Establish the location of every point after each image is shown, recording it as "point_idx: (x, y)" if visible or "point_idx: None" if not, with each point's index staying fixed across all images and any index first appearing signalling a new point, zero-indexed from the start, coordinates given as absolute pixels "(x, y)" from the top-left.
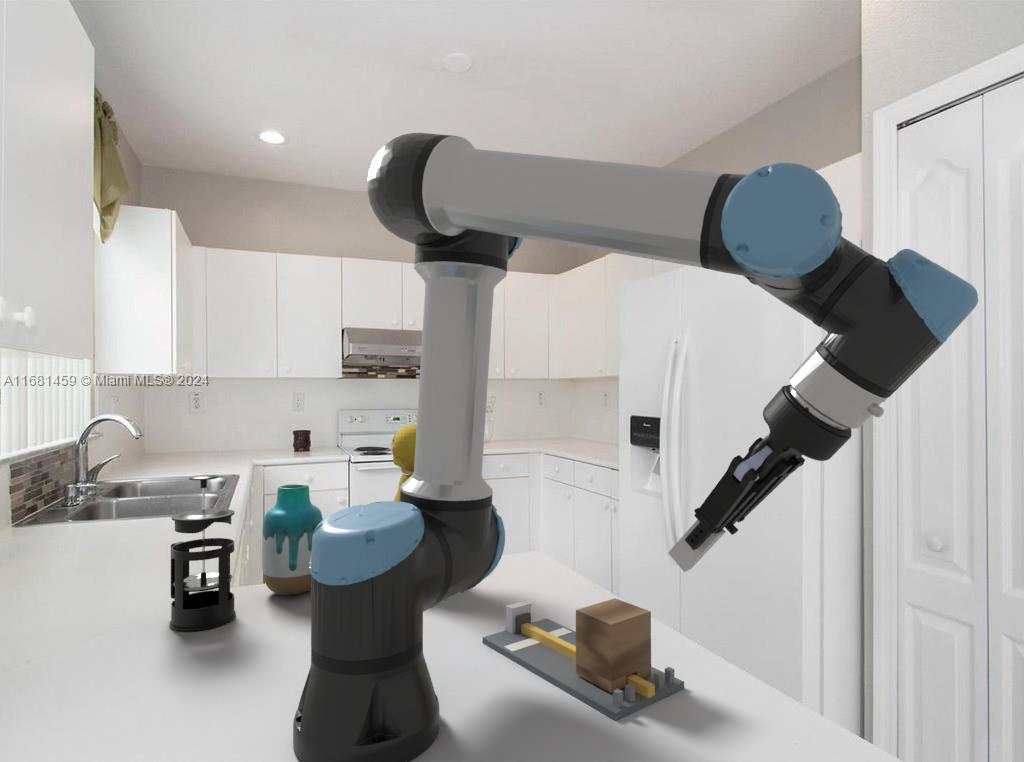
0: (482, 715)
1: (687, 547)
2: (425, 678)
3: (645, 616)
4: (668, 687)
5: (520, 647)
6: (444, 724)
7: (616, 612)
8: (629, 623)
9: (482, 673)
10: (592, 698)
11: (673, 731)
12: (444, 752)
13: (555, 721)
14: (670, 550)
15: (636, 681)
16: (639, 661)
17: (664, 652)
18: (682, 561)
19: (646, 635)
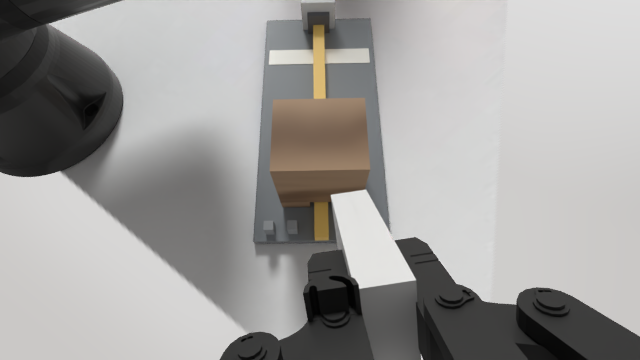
0: (152, 149)
1: (340, 249)
2: (37, 116)
3: (355, 171)
4: None
5: (283, 62)
6: (112, 141)
7: (317, 141)
8: (315, 173)
9: (217, 80)
10: (258, 200)
11: (292, 304)
12: (75, 182)
13: (201, 203)
14: (332, 199)
15: (315, 216)
16: None
17: (445, 159)
18: (337, 242)
19: (355, 184)
